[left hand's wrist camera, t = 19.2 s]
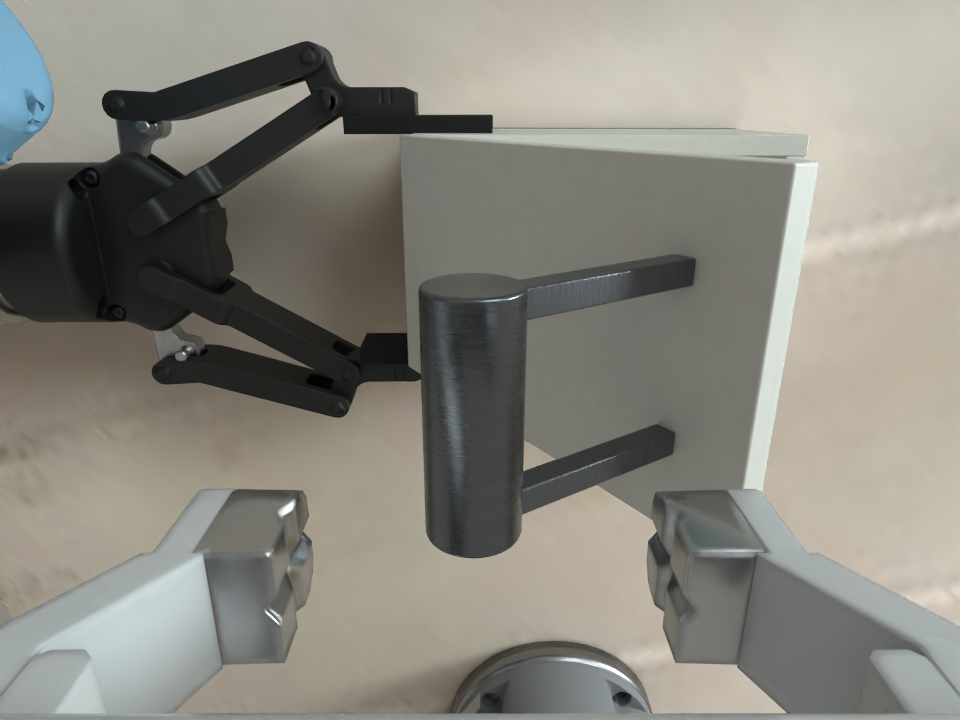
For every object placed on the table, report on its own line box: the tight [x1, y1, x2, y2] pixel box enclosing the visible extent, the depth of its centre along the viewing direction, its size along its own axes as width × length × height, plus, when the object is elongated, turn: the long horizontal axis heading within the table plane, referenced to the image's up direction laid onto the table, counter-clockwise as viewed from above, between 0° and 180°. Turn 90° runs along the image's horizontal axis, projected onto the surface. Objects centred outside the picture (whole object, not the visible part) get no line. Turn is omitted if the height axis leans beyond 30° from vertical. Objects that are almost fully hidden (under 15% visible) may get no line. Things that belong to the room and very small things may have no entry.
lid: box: [400, 135, 819, 558], centre depth 21 cm, size 18×10×8 cm
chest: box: [411, 128, 810, 160], centre depth 34 cm, size 17×10×9 cm, turn 90°
